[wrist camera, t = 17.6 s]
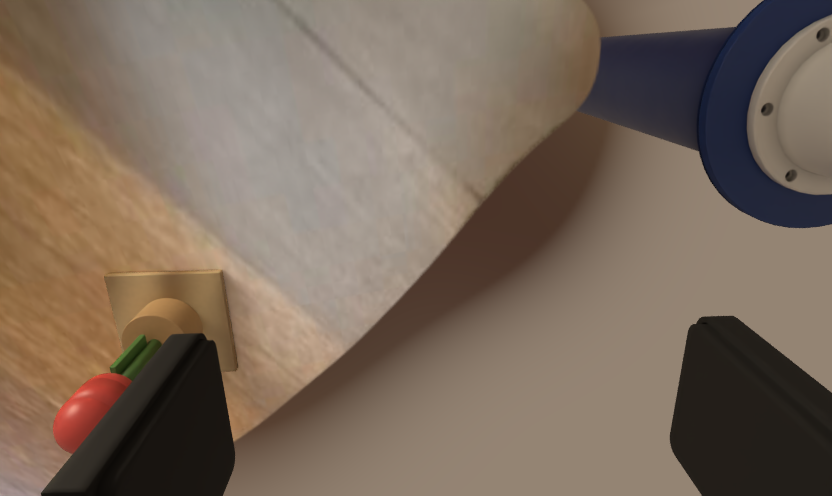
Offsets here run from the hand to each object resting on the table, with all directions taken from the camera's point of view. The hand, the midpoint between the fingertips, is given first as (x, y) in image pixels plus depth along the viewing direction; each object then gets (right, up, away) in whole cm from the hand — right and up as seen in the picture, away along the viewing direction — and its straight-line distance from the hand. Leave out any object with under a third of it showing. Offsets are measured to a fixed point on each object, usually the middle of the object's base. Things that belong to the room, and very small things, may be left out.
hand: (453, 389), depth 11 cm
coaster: (-20, -3, +33) cm, 39 cm away
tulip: (-21, -3, +32) cm, 38 cm away
